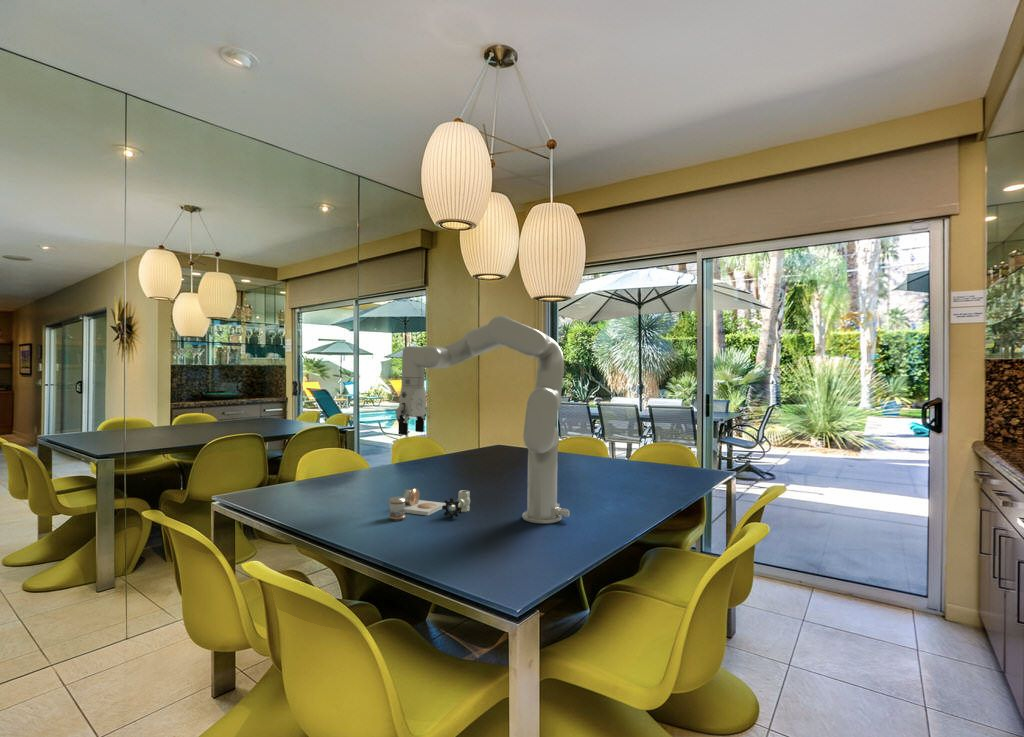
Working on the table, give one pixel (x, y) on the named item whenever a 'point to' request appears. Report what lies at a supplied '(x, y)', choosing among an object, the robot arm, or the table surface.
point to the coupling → (397, 508)
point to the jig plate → (424, 507)
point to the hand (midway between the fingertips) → (411, 433)
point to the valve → (458, 504)
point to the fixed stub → (411, 496)
